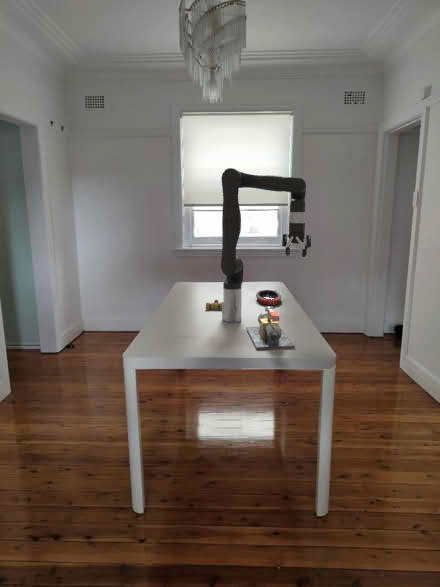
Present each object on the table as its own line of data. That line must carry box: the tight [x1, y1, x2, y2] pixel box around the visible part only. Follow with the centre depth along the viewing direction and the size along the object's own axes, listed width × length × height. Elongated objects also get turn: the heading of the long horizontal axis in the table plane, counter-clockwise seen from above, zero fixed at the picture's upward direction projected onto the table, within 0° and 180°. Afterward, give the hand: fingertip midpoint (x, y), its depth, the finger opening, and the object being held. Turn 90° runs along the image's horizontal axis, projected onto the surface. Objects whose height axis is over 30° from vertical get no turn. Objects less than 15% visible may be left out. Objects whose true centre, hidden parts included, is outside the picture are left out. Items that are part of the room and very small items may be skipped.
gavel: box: [205, 299, 222, 311], centre depth 225 cm, size 21×5×10 cm
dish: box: [255, 289, 282, 306], centre depth 236 cm, size 16×31×5 cm, turn 176°
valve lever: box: [264, 305, 280, 322], centre depth 159 cm, size 17×4×2 cm, turn 3°
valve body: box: [245, 312, 296, 351], centre depth 167 cm, size 27×16×12 cm, turn 5°
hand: (295, 256), depth 182 cm, fingers open, 8 cm apart
